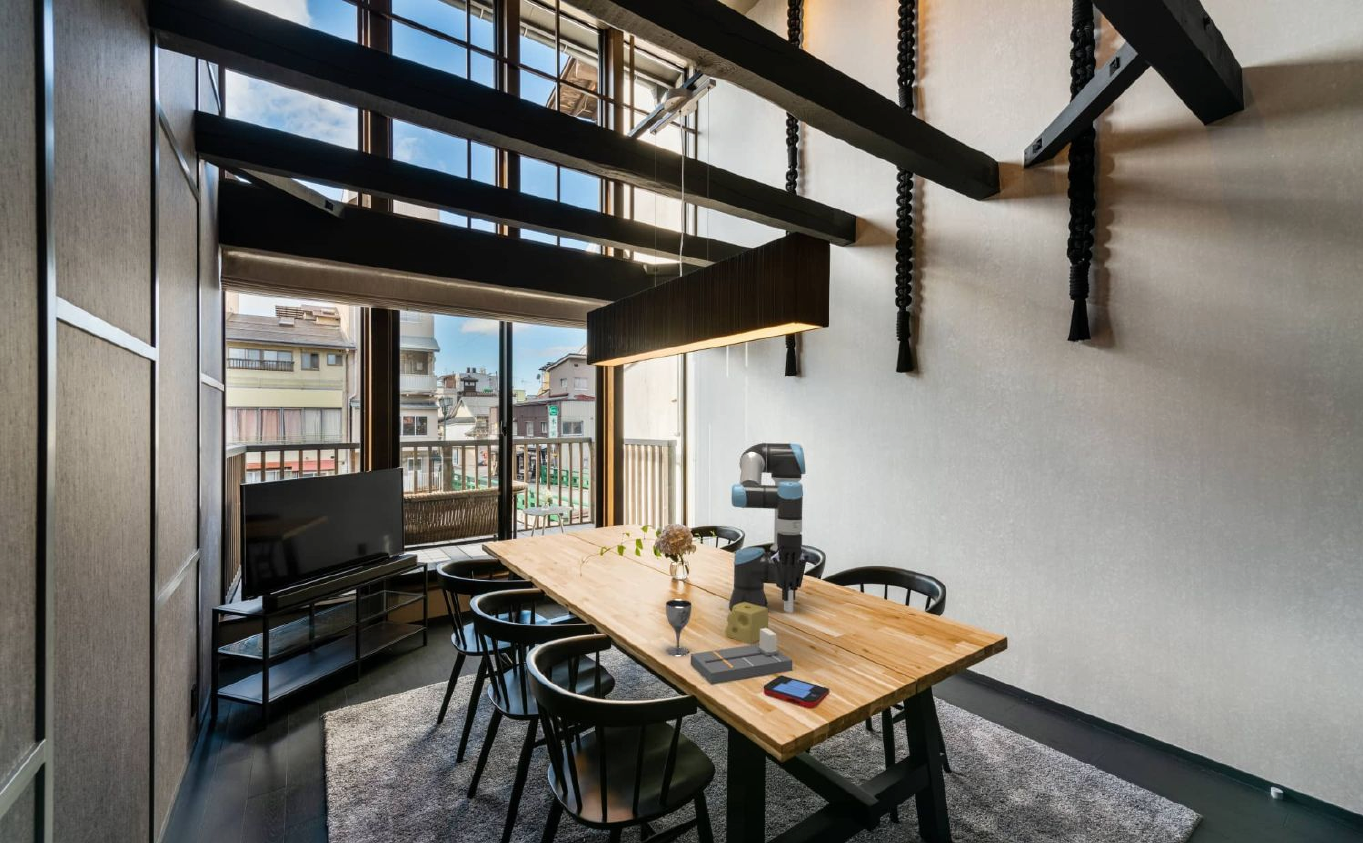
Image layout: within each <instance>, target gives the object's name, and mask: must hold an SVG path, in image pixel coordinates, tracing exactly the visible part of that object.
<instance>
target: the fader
mask: <svg viewBox="0 0 1363 843" xmlns="http://www.w3.org/2000/svg"><path fill="white" fill-rule="evenodd" d="M777 642H778V641H777V633H775V631H772V630H771V629H769V627H768V628H763V629H760V640H759V644H760V646H758V650H759V651H760V652H762V653H763V654H765V655H766V656H769V655H775V654H778V651H779V649H777Z"/></svg>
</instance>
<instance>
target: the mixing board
mask: <svg viewBox="0 0 1363 843" xmlns="http://www.w3.org/2000/svg"><path fill="white" fill-rule="evenodd" d="M758 646H760V643H756V644H748V645H744V646H737V647H730V648H729V647H728V648H724V649H723V648H722V649H715V650H710V651H702V652H695V653H690V666H692V667H693V668H694V669H695V670H696V672H698V673H699V674H700V675H701V676H702V677H703V678H704V677H705V678H706V679H705V678H704V679H705V680H706V681H707V682H708V683H709V684H711V685H716V684H720V683H726V682H733V681H739V680H744V679H750V678H756V677H761V676H769V675H774V674H779V673H785V672H790V671H793V661H794V660H793V659H792V658H790V657H789V656H787V654H785V653H783V652H781V651H780V650H778V654H775V655H769V656H766V655H765V654H763V653H762V652H760V651H759V650H758Z"/></svg>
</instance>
